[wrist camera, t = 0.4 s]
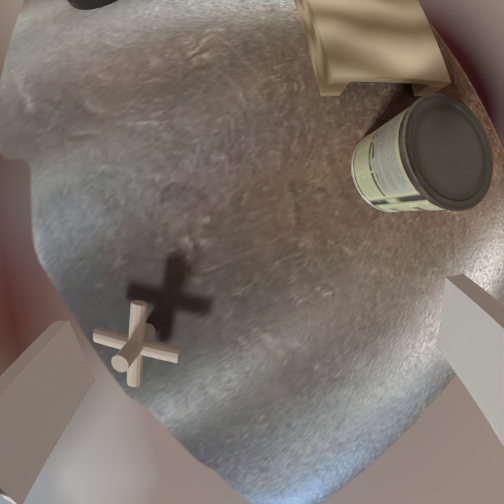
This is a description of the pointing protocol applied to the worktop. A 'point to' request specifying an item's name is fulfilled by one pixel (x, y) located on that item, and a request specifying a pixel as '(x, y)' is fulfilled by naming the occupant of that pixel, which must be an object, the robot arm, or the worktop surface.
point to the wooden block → (371, 44)
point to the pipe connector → (136, 344)
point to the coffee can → (425, 159)
